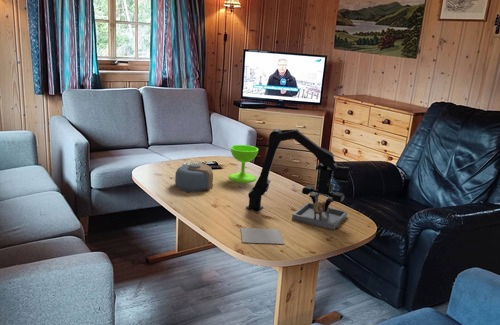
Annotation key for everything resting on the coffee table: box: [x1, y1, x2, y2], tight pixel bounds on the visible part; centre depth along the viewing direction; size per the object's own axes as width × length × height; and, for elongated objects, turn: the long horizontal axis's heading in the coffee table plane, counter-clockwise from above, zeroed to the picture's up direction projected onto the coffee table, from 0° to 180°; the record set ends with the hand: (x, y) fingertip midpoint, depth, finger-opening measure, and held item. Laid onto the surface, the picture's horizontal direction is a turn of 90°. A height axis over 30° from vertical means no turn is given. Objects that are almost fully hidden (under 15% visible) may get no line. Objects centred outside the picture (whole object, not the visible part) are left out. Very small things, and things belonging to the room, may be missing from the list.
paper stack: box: [240, 224, 285, 245], centre depth 189 cm, size 23×25×1 cm
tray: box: [291, 201, 348, 231], centre depth 208 cm, size 20×20×2 cm
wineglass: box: [228, 144, 259, 184], centre depth 257 cm, size 16×16×18 cm
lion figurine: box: [313, 201, 329, 220], centre depth 207 cm, size 15×5×9 cm, turn 154°
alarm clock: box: [174, 162, 214, 192], centre depth 237 cm, size 19×20×12 cm
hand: (320, 210), depth 208 cm, fingers closed on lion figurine, 4 cm apart
